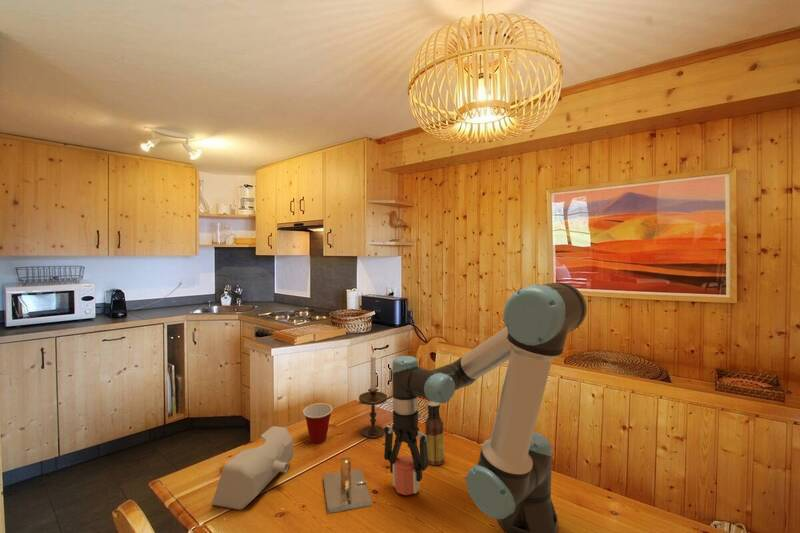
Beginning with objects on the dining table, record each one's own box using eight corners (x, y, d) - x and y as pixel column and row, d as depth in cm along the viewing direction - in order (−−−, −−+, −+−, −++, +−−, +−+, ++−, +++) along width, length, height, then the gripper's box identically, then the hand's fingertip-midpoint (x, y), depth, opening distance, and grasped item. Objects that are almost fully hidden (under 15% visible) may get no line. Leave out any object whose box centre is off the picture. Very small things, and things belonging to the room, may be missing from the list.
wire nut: (419, 492, 109) (419, 465, 109) (398, 496, 108) (398, 468, 107) (412, 480, 115) (412, 454, 115) (393, 483, 114) (393, 457, 113)
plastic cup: (298, 446, 136) (298, 414, 136) (309, 432, 147) (309, 402, 147) (327, 448, 135) (327, 415, 134) (336, 434, 146) (336, 403, 145)
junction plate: (372, 506, 104) (372, 472, 104) (327, 514, 101) (327, 480, 101) (362, 472, 120) (362, 443, 120) (323, 479, 117) (323, 449, 117)
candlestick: (357, 439, 142) (357, 347, 140) (361, 426, 152) (361, 340, 151) (385, 440, 141) (386, 347, 140) (387, 427, 152) (388, 341, 151)
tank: (262, 516, 101) (261, 470, 100) (210, 507, 104) (209, 463, 104) (305, 465, 125) (305, 428, 124) (262, 459, 128) (262, 423, 128)
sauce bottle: (444, 456, 130) (444, 400, 129) (444, 467, 124) (445, 407, 123) (425, 455, 130) (425, 399, 130) (424, 466, 124) (424, 406, 124)
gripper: (440, 411, 109) (441, 489, 110) (384, 399, 119) (385, 472, 119) (429, 421, 103) (430, 504, 103) (371, 408, 112) (372, 484, 113)
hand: (406, 487), depth 111 cm, fingers closed on wire nut, 6 cm apart
